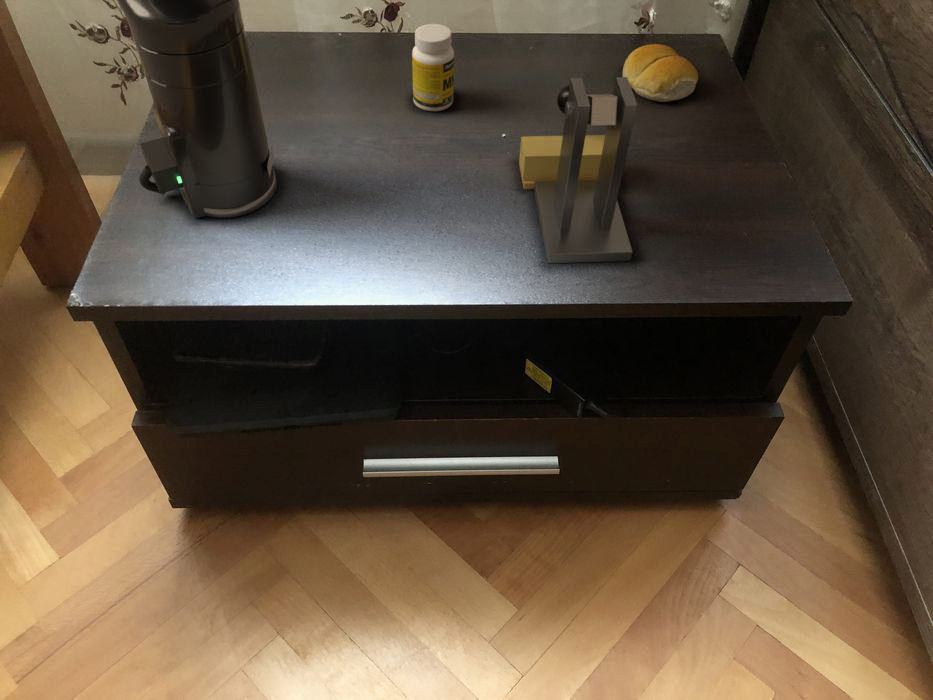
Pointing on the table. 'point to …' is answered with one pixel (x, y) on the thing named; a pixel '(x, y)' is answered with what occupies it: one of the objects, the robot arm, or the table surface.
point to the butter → (556, 158)
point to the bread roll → (660, 73)
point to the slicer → (587, 186)
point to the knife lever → (594, 107)
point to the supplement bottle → (433, 67)
